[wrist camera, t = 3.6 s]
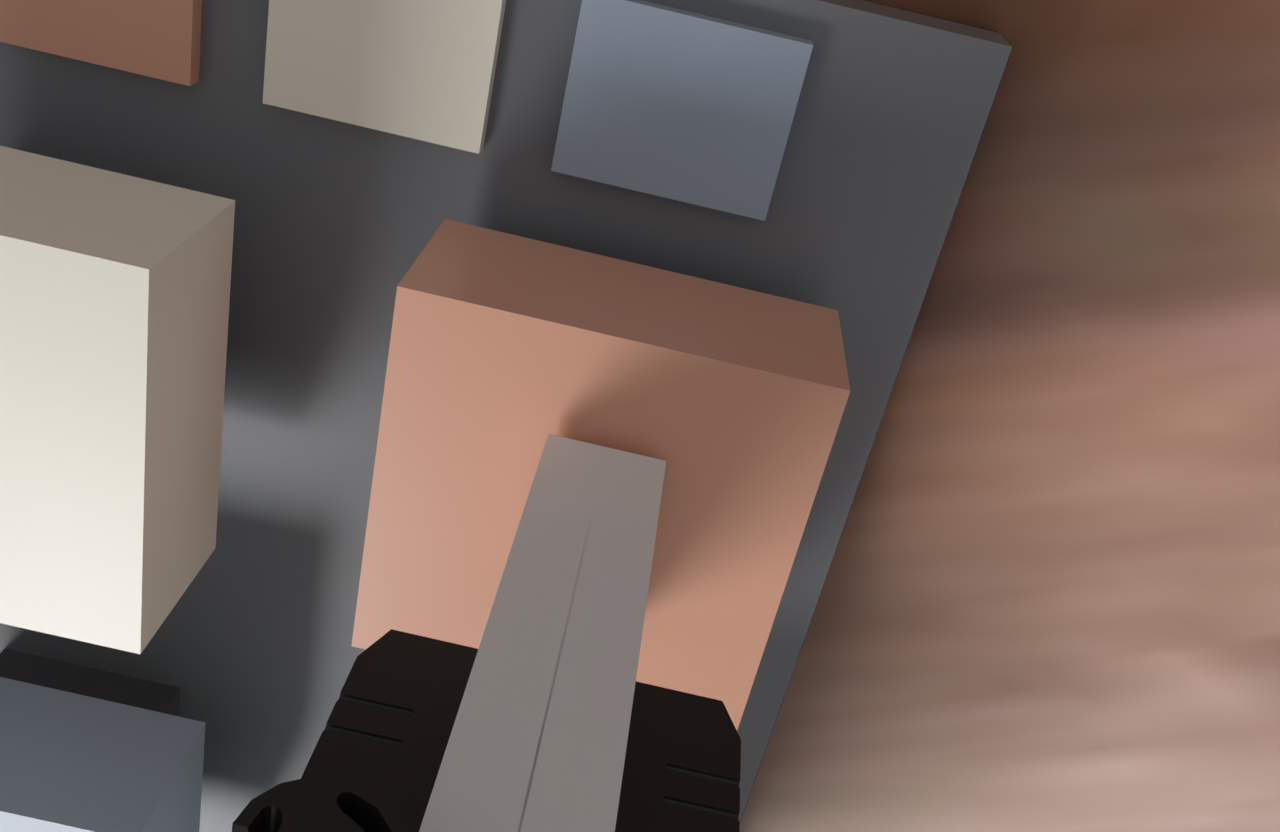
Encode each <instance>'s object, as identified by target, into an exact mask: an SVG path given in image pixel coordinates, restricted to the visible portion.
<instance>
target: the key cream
mask: <svg viewBox="0 0 1280 832" xmlns="http://www.w3.org/2000/svg"><path fill="white" fill-rule="evenodd" d="M234 215H235V200H232V199H228V198H224V197H219V196H215V195H211V194H207V193H202V192H198V191H194V190H189V189H185V188H181V187H176V186H172V185H168V184H163V183H159V182H155V181H151V180H146V179H142V178H138V177H133V176H129V175H125V174H120V173H116V172H112V171H108V170H103V169H99V168H95V167H90V166H86V165H82V164H77V163H73V162H69V161H65V160H60V159H56V158H52V157H47V156H43V155H39V154H34V153H30V152H26V151H21V150H17V149H13V148H9V147H4V146H0V623H2V624H6V625H11V626H15V627H20V628H24V629H29V630H33V631H38V632H42V633H47V634H51V635H56V636H60V637H65V638H69V639H74V640H78V641H83V642H87V643H91V644H96V645H100V646H105V647H109V648H114V649H118V650H123V651H127V652H132V653H136V654H141V653H142V652H143V650H144V649H145V647H146V646H147V644H148V643H149V642H150V640H151V639H152V637H153V636H154V635H155V633H156V632H157V630H158V629H159V627H160V626H161V625H162V623H163V622H164V620H165V619H166V618H167V616H168V615H169V613H170V612H171V610H172V609H173V608H174V606H175V605H176V603H177V602H178V601H179V599H180V598H181V596H182V595H183V593H184V592H185V591H186V589H187V588H188V586H189V585H190V584H191V582H192V581H193V579H194V578H195V577H196V575H197V574H198V572H199V571H200V569H201V568H202V567H203V565H204V564H205V562H206V561H207V560H208V558H209V557H210V555H211V554H212V552H213V551H214V550H215V548H216V531H217V514H218V496H219V478H220V461H221V443H222V426H223V408H224V391H225V373H226V355H227V338H228V320H229V303H230V285H231V267H232V250H233V232H234Z"/></svg>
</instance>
